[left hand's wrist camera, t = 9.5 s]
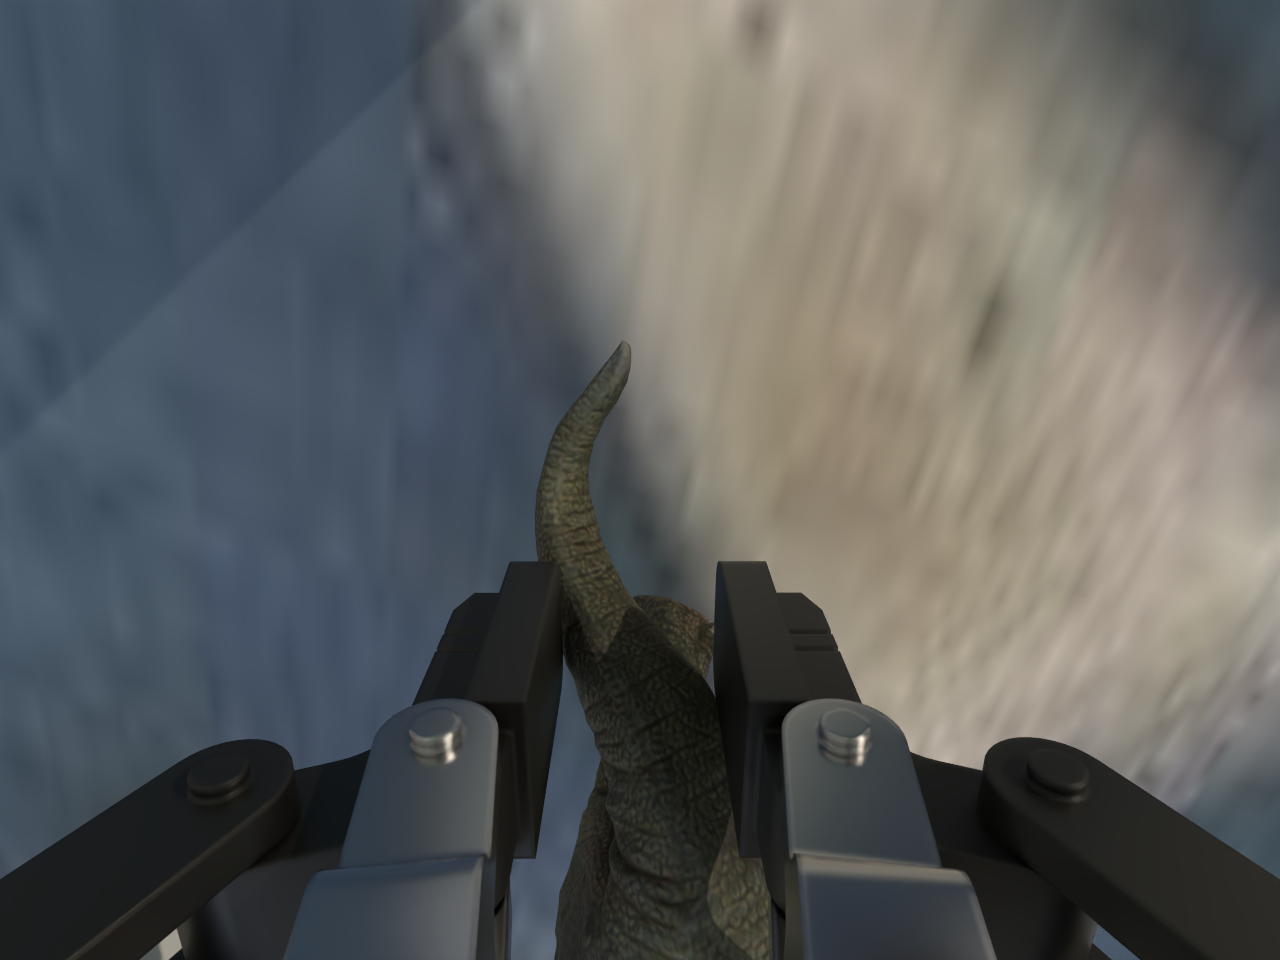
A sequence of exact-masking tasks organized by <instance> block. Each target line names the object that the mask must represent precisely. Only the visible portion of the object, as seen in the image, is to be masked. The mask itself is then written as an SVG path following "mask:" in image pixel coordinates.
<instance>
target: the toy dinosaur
mask: <svg viewBox="0 0 1280 960" xmlns="http://www.w3.org/2000/svg"><path fill="white" fill-rule="evenodd" d="M630 365H631V347H630V345H629V344H628V343H627V342H626V341H622V342H621V344H620V345H619V346H618V348H617V349H616V351H615V352H614V353H613V355H612V356H611V357H610V358H609V360H608V361H607V362H606V363H605V365H604V366H603V367H602V368H601V370H600V371H599V372H598V373H597V375H596V376H595V377H594V379H593V380H592V381H591V383H590V384H589V385H588V387H587V388H586V389H585V391H584V392H583V394H582V395H581V396H580V397H579V398H578V399H577V400H576V402H575V403H574V404H573V405H572V406H571V408H570V409H569V411H568V412H567V413H566V415H565V416H564V417H563V419H562V420H561V422H560V423H559V424H558V426H557V428H556V430H555V432H554V435H553V437H552V439H551V442H550V444H549V447H548V451H547V455H546V458H545V462H544V466H543V469H542V473H541V477H540V481H539V485H538V488H537V496H536V510H535V534H536V547H537V554H538V560H539V562H558V564H559V572H560V592H561V617H562V642H563V654H564V657H565V662H566V665H567V667H568V668H569V670H570V672H571V674H572V676H573V678H574V680H575V684H576V688H577V692H578V696H579V699H580V703H581V705H582V707H583V709H584V712H585V716H586V721H587V723H588V725H589V726H590V728H591V729H592V731H593V733H594V737H595V746H596V748H597V750H598V751H599V753H600V755H601V761H600V764H599V768H598V770H597V775H596V782H595V787H594V789H593V791H592V793H591V795H590V797H589V800H588V807H587V808H586V810H585V811H584V813H583V815H582V819H581V823H580V828H579V834H578V839H577V842H576V846H575V849H574V853H573V857H572V860H571V864H570V867H569V870H568V872H567V875H566V878H565V880H564V883H563V885H562V888H561V890H560V894H559V906H558V914H557V921H556V928H555V934H556V940H557V947H556V953H555V958H554V959H555V960H769V933H768V903H769V891H768V889H767V885H766V882H765V876H764V871H763V865H762V859H761V858H739V853H738V846H737V839H736V832H735V825H734V818H733V811H732V805H731V798H730V791H729V784H728V777H727V770H726V763H725V757H724V750H723V743H722V736H721V729H720V722H719V714H718V706H717V702H716V697H715V696H714V694H713V692H712V690H711V689H710V687H709V685H708V684H707V682H706V681H705V678H706V676H707V672H708V668H709V664H710V661H711V658H712V656H713V645H714V623H710V624H709V622H708V620H707V619H706V618H705V617H704V616H703V615H701V614H700V613H699V612H697V611H695V610H693V609H692V608H690V607H688V606H686V605H684V604H682V603H680V602H677V601H674V600H672V599H669V598H666V597H661V596H648V595H641V596H635V597H632V596H631V595H630V594H629V592H628V591H627V590H626V589H625V587H624V585H623V583H622V581H621V578H620V576H619V574H618V572H617V571H616V569H615V568H614V566H613V565H612V563H611V560H610V556H609V554H608V552H607V550H606V548H605V546H604V544H603V542H602V539H601V537H600V531H599V525H598V522H597V519H596V516H595V512H594V508H593V504H592V500H591V496H590V492H589V478H588V469H589V463H590V457H591V453H592V448H593V442H594V441H595V439H596V437H597V435H598V433H599V431H600V429H601V426H602V424H603V422H604V419H605V418H606V416H607V415H608V414H609V412H610V411H611V409H612V408H613V407H614V405H615V404H616V402H617V400H618V399H619V397H620V395H621V393H622V391H623V389H624V387H625V385H626V383H627V380H628V375H629V371H630Z"/></svg>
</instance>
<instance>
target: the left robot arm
mask: <svg viewBox="0 0 1280 960" xmlns="http://www.w3.org/2000/svg"><path fill="white" fill-rule="evenodd" d="M713 671H714V687H715V695H716V702H717V706H718V714H719V722H720V729H721V736H722V743H723V750H724V757H725V763H726V770H727V777H728V784H729V791H730V798H731V805H732V811H733V818H734V825H735V832H736V839H737V846H738V853H739V858H761V859H762V865H763V871H764V876H765V882H766V885H767V889H768V891H769V903H768V933H769V960H1111V959H1110V958H1109V957H1108V956H1107V955H1106V954H1104V953H1103V952H1102V951H1101V950H1100V949H1099V948H1097V947H1096V946H1095V945H1094V944H1093V943H1092V942H1093V938H1094V935H1095V931H1096V927H1097V924H1099V925H1100V926H1101V927H1102V928H1103V929H1105V930H1106V931H1107V932H1108V933H1109V934H1110V935H1112V936H1113V937H1114V938H1115V939H1116V940H1118V941H1119V942H1120V943H1121V944H1122V945H1124V946H1125V947H1126V948H1127V949H1128V950H1129V951H1131V952H1132V953H1133V954H1134V955H1135V956H1137V957H1138V958H1139V959H1140V960H1280V879H1278V878H1277V877H1275V876H1274V875H1272V874H1271V873H1269V872H1268V871H1266V870H1265V869H1263V868H1262V867H1260V866H1259V865H1257V864H1256V863H1254V862H1252V861H1251V860H1249V859H1248V858H1246V857H1245V856H1243V855H1242V854H1240V853H1239V852H1237V851H1236V850H1234V849H1233V848H1231V847H1230V846H1228V845H1227V844H1225V843H1224V842H1222V841H1221V840H1219V839H1217V838H1216V837H1214V836H1213V835H1211V834H1210V833H1208V832H1207V831H1205V830H1204V829H1202V828H1201V827H1199V826H1198V825H1196V824H1195V823H1193V822H1192V821H1190V820H1189V819H1187V818H1185V817H1184V816H1182V815H1181V814H1179V813H1178V812H1176V811H1175V810H1173V809H1172V808H1170V807H1169V806H1167V805H1166V804H1164V803H1163V802H1161V801H1160V800H1158V799H1157V798H1155V797H1153V796H1152V795H1150V794H1149V793H1147V792H1146V791H1144V790H1143V789H1141V788H1140V787H1138V786H1137V785H1135V784H1134V783H1132V782H1131V781H1129V780H1128V779H1126V778H1125V777H1123V776H1121V775H1120V774H1118V773H1117V772H1115V771H1114V770H1112V769H1111V768H1109V767H1108V766H1106V765H1105V764H1103V763H1102V762H1100V761H1099V760H1097V759H1095V758H1094V757H1092V756H1090V755H1089V754H1087V753H1085V752H1082V751H1080V750H1078V749H1076V748H1074V747H1071V746H1068V745H1066V744H1063V743H1059V742H1055V741H1052V740H1047V739H1041V738H1032V737H1018V738H1011V739H1007V740H1004V741H1000V742H999V743H997V744H995V745H993V746H992V747H991V748H990V749H989V750H988V752H987V754H986V755H985V760H984V765H983V770H982V771H981V770H977V769H972V768H968V767H963V766H959V765H954V764H950V763H945V762H941V761H936V760H933V759H929V758H925V757H922V756H920V755H917V754H914V753H912V752H910V750H909V747H908V743H907V740H906V738H905V735H904V733H903V732H902V730H901V729H900V728H899V726H898V725H897V724H896V723H895V722H894V721H893V720H891V719H890V718H889V717H888V716H886V715H885V714H883V713H881V712H880V711H878V710H876V709H874V708H872V707H869V706H867V705H864V704H862V703H861V700H860V698H859V696H858V693H857V691H856V689H855V686H854V684H853V681H852V679H851V677H850V674H849V672H848V670H847V667H846V665H845V663H844V660H843V658H842V656H841V653H840V651H838V646H837V644H836V641H835V639H834V637H833V634H831V630H830V627H829V625H828V623H827V620H826V618H825V616H824V613H823V611H822V610H821V609H820V608H819V607H818V606H817V605H815V604H814V603H813V602H812V601H810V600H809V599H808V598H807V597H806V596H804V595H803V594H802V593H776V590H775V587H774V584H773V581H772V578H771V575H770V572H769V569H768V566H767V563H766V562H765V561H718V564H717V571H716V593H715V619H714V645H713ZM562 675H563V642H562V617H561V592H560V572H559V564H558V562H510V563H509V565H508V568H507V571H506V574H505V577H504V580H503V583H502V586H501V589H500V592H499V593H474V594H473V595H472V596H470V597H469V598H468V599H467V600H466V601H464V602H463V603H462V604H461V605H459V606H458V607H457V608H456V609H454V610H453V612H452V615H451V617H450V619H449V622H448V624H447V626H446V629H445V634H444V635H442V638H441V640H440V642H439V645H438V647H437V652H435V654H434V656H433V658H432V661H431V663H430V665H429V668H428V670H427V672H426V675H425V677H424V679H423V681H422V684H421V686H420V688H419V691H418V693H417V695H416V698H415V700H414V702H413V704H412V706H411V707H408V708H406V709H404V710H402V711H400V712H399V713H397V714H395V715H394V716H392V717H391V718H390V719H389V720H387V721H386V722H385V723H384V724H383V725H382V726H381V728H380V729H379V730H378V732H377V733H376V735H375V738H374V740H373V743H372V747H371V749H370V750H368V751H366V752H363V753H361V754H359V755H356V756H353V757H350V758H347V759H343V760H339V761H336V762H331V763H326V764H322V765H317V766H313V767H308V768H304V769H299V770H295V771H294V767H293V761H292V757H291V756H290V754H289V752H288V751H287V750H286V749H285V748H284V747H282V746H280V745H278V744H277V743H273V742H270V741H266V740H259V739H245V740H236V741H230V742H225V743H222V744H218V745H215V746H211V747H209V748H206V749H204V750H201V751H199V752H197V753H195V754H192V755H190V756H188V757H187V758H185V759H183V760H182V761H180V762H178V763H177V764H175V765H174V766H172V767H171V768H169V769H168V770H166V771H165V772H163V773H162V774H160V775H158V776H157V777H155V778H154V779H152V780H151V781H149V782H148V783H146V784H145V785H143V786H142V787H140V788H139V789H137V790H136V791H134V792H133V793H131V794H130V795H128V796H126V797H125V798H123V799H122V800H120V801H119V802H117V803H116V804H114V805H113V806H111V807H110V808H108V809H107V810H105V811H104V812H102V813H101V814H99V815H98V816H96V817H95V818H93V819H91V820H90V821H88V822H87V823H85V824H84V825H82V826H81V827H79V828H78V829H76V830H75V831H73V832H72V833H70V834H69V835H67V836H66V837H64V838H63V839H61V840H59V841H58V842H56V843H55V844H53V845H52V846H50V847H49V848H47V849H46V850H44V851H43V852H41V853H40V854H38V855H37V856H35V857H34V858H32V859H31V860H29V861H27V862H26V863H24V864H23V865H21V866H20V867H18V868H17V869H15V870H14V871H12V872H11V873H9V874H8V875H6V876H5V877H3V878H2V879H0V960H140V959H141V958H142V957H143V956H145V955H146V954H147V953H148V952H149V951H150V950H152V949H153V948H154V947H155V946H156V945H158V944H159V943H160V942H161V941H162V940H164V939H165V938H166V937H167V936H168V935H169V934H171V933H172V932H173V931H174V930H175V929H177V932H178V935H179V939H180V942H181V946H182V948H181V949H180V950H179V951H178V952H177V953H176V954H174V955H173V956H172V957H171V958H170V959H169V960H511V932H512V904H511V891H510V873H511V868H512V862H513V859H535V858H536V852H537V845H538V839H539V832H540V826H541V819H542V813H543V806H544V800H545V793H546V787H547V780H548V774H549V767H550V761H551V754H552V748H553V741H554V735H555V728H556V722H557V715H558V709H559V702H560V695H561V688H562Z"/></svg>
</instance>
